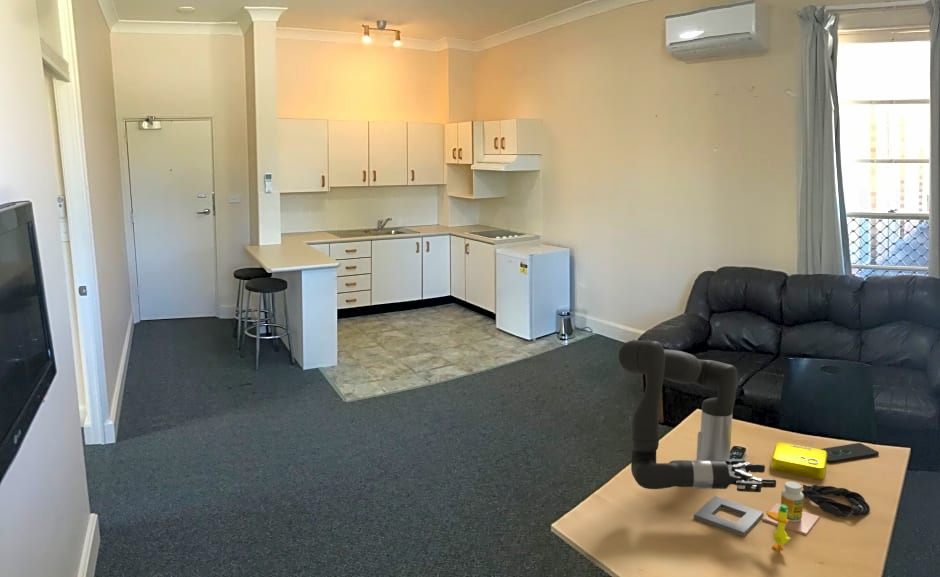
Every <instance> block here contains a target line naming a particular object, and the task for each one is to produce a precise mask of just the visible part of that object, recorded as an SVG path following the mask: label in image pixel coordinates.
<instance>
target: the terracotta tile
mask: <svg viewBox="0 0 940 577" xmlns="http://www.w3.org/2000/svg"><path fill="white" fill-rule="evenodd" d="M779 507H781V503H779V502H776V503H775V505H774V506H773V507H771V509H770V510H769V511H772V512H775V513H778V510H779V509H778V508H779ZM819 520H820V515H816V514H814V513H809V512H807V511H804V510H802V519H801V520H800V521H799V522H790V521H789V522H788V524H786V526H785V529H787V530H790V531H793V532H796V533H798V534H801V535H804V536H807V535H808V534H809V533H810V531H811V530H812V528H813V527H814V526H815V525H816V524H817V522H818V521H819ZM762 521H763V522H766V523H769V524H772V525H775V526H778V522H777V521H775V520H773V519H771V518H769V517H768V515H767V514H766V513H765V515H764V516H763V517H762Z"/></svg>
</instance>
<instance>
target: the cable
mask: <svg viewBox="0 0 940 577" xmlns="http://www.w3.org/2000/svg"><path fill="white" fill-rule="evenodd" d="M801 492H802V494H803V496H804V498H806V499H809V500H810V501H811V502H812V503H814V504H816V505H817V506H818V507H819V508H820V509H821V510H822V511H824V512H826V513H828V514H831V515H833V516H835V517H837V518H849V516H855V517H864V516H865V517H866V516H868V515H869V514H870V512H871V508H870V505H869V503H867V502H866V498H864V497H863V496H862V494H860V493H858V492H856V491H851V490H849V489H848V488H846V487H836V486H833V485H832V486H831V485H818V484H813V485H807V484H803V485H802V490H801ZM827 496H834V497H835V496H836V497H843V498H844V499H845V498H846V499H847V501H848V502H849V503H850V504H851V505H853V506H850V505H848V504H845V503H842V502H839V501H837V500H835V499H832V498H830V497H827Z"/></svg>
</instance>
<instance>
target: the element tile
mask: <svg viewBox="0 0 940 577" xmlns="http://www.w3.org/2000/svg"><path fill="white" fill-rule="evenodd" d="M821 449H822V448H816V447H810V446H804V445H799V444H793V443H787V442H783V441H779V442H777V443H775V446H774V450H773V451H772V455H771V460H770V461H771V462H770V469H771V470H772V471H774V472H778V473H783V474H787V475H793V476H798V477H803V478H806V479H807V478H808V479H813V480H817V481H818V480H819V481H821V480H824V479H825V475H826V470H827V469H826V468H827V464H828V463H827V452H826V451H825V450H821Z"/></svg>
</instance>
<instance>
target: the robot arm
mask: <svg viewBox="0 0 940 577" xmlns="http://www.w3.org/2000/svg"><path fill="white" fill-rule="evenodd" d="M618 361H619V364H620V365H621V367H622V368H623V369H624V370H625V371H626V372H628V373H630V374H638V375H645V376H646V378H645V379H646V382H645V383H646V384H645V389H644V390H645V391H644V392H643V395H642V398H641V400H640V401H639V403H638V404H637V406H636V409H635V410H634V411H633V412H634V413H633V415H632V420H631V422H632V423H631V434H632V435H631V436H632V437H631V438H632V440H631V442H632V451H631V459H630V460H631V462H630V465H631V466H630V467H631V474H632V477H633V478H634V481H635V482H636V483H637V485H638V486H640V487H641V488H643V489H645V490H646V489H648V490H660V489H661V490H662V489H667V488H668V489H669V488H673V487H676V488H695V489H707V490H713V489H715V490H727V489H728V488H729V486H730V485H733V486H736V491H737V492H742V493H743V492H744V493H746V492H747V493H761V492H762V488H763V489H764V488H767V489H768V488H769V489H771V488H773V489H775V488H776V487H777V480H776V479H775V478H760V477H756V476H754V475H753V474H751V473H765V470H766V465H765V464H764V463H750V462H749V461H746V460H745V459H744V458H730V457H731V444H732V443H731V442H732V441H731V440H732V430H733V429H732V428H733V412H734V406H735V403H736V393H737V387H738V386H737V385H738V378H739V377H738V376H739V375H738V370H737V367H736V366H734V365H732V364H729V363H725V362H722V361H721V362H720V361H717V360H712V359H698V357H696V356H695V355H694V354H692V353H688V352H685V351H681V350H677V349H666V348H665V349H664V347H663V344H661V343H660V342H659V341H656V340H641V339H638V340H637V339H633V340H629V341H626V342H625V343H624V344H623V345H622V346H621V347H620V349H619V352H618ZM664 380H667V381H670V382H674V383H678V384H683V385H690V384H692V383H693V384H696V385H698V386H700V387H702V388H704V389H707V390H710V391H713V392H717V397H710V398H706V399H704V400H703V401H702V403H701V418H700V419H701V420H700V431H698V433H697V442H696V443H697V444H696V445H697V446H696V458H695V459H693V460H692V459H691V460H686V459H683V460H680V459H679V460H677V459H675V460H670V461H669V462H666V463H665V462H663V463H662V462H660V463H658V462H657V450H658V449H659V444H660V443H659V442H660V440H659V439H660V436H659V435H660V432H659V429H660V428H659V427H660V426H659V424H660V423H659V421H660V420H659V418H660V417H659V416H660V415H659V414H660V405H661V397H662V391H663V382H664ZM749 472H750V473H749Z"/></svg>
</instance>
